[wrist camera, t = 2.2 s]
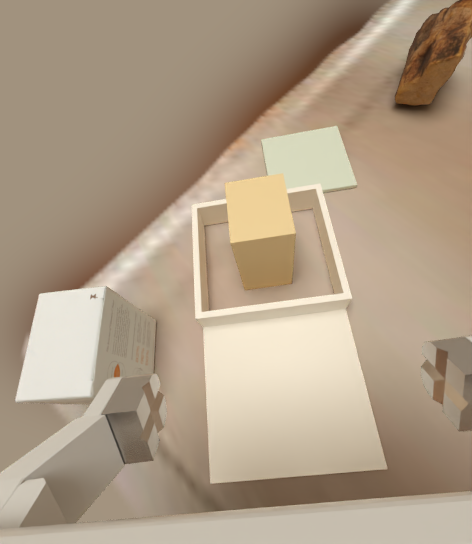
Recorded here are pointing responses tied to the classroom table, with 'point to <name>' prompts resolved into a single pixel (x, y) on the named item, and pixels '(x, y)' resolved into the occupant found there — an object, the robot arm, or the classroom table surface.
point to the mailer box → (284, 372)
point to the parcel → (261, 230)
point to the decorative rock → (435, 53)
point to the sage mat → (310, 159)
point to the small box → (84, 345)
